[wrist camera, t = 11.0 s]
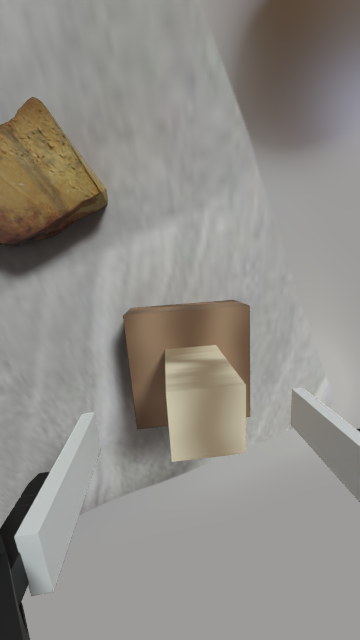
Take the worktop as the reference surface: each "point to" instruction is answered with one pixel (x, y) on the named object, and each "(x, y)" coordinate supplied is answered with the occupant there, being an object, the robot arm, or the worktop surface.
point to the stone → (42, 178)
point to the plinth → (181, 332)
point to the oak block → (204, 404)
